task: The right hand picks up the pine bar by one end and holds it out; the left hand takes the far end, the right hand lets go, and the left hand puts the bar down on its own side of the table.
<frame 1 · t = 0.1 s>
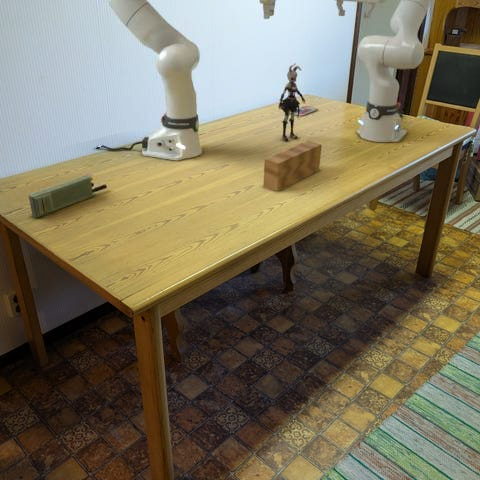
left hand: (268, 17, 163), 48 cm above the table, tool pointing down, fingers open, 8 cm apart
right hand: (354, 17, 166), 48 cm above the table, tool pointing down, fingers open, 8 cm apart
figurine: (288, 138, 207), on the table
bar: (292, 178, 170), on the table
handheld radio: (72, 203, 151), on the table
smartphone: (303, 112, 242), on the table
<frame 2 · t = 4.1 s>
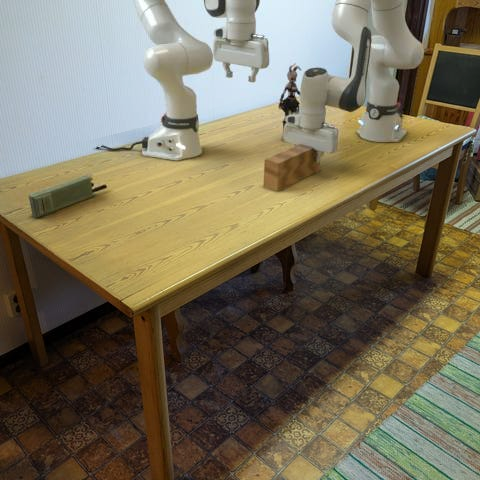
left hand: (240, 79, 159), 31 cm above the table, tool pointing down, fingers open, 8 cm apart
right hand: (308, 159, 174), 4 cm above the table, tool pointing down, fingers closed on bar, 5 cm apart
bar: (292, 178, 170), on the table, touching right hand
everything else where it was.
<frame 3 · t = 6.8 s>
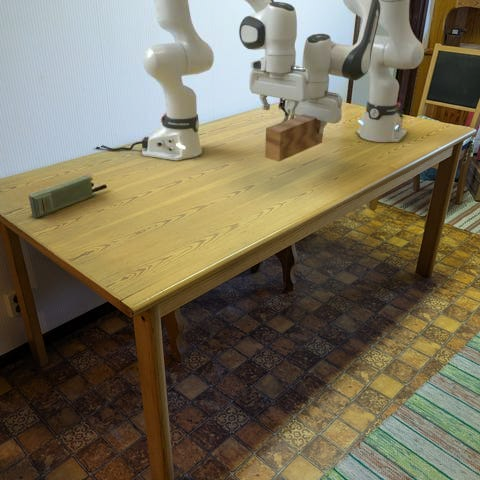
left hand: (278, 112, 153), 24 cm above the table, tool pointing down, fingers open, 8 cm apart
right hand: (311, 131, 169), 14 cm above the table, tool pointing down, fingers closed on bar, 5 cm apart
bar: (294, 149, 165), point 10 cm above the table, touching right hand
everything else where it was.
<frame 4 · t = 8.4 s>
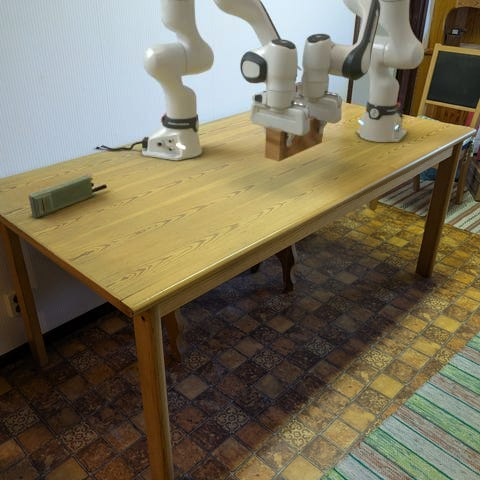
left hand: (278, 143, 157), 14 cm above the table, tool pointing down, fingers closed on bar, 5 cm apart
right hand: (311, 131, 169), 14 cm above the table, tool pointing down, fingers closed on bar, 5 cm apart
bar: (294, 149, 165), point 10 cm above the table, touching left hand, right hand
everything else where it was.
when the right hand's fingers open (14 cm above the table, at t = 9.5 s): bar stays where it is, held by the left hand.
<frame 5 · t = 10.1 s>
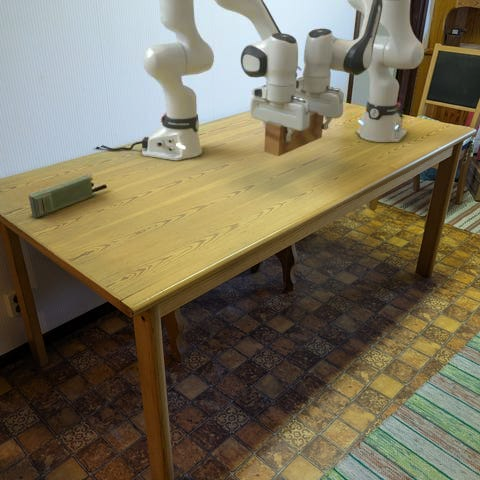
left hand: (277, 138, 157), 16 cm above the table, tool pointing down, fingers closed on bar, 5 cm apart
right hand: (312, 126, 169), 16 cm above the table, tool pointing down, fingers open, 8 cm apart
bar: (294, 144, 165), point 12 cm above the table, touching left hand
everything else where it was.
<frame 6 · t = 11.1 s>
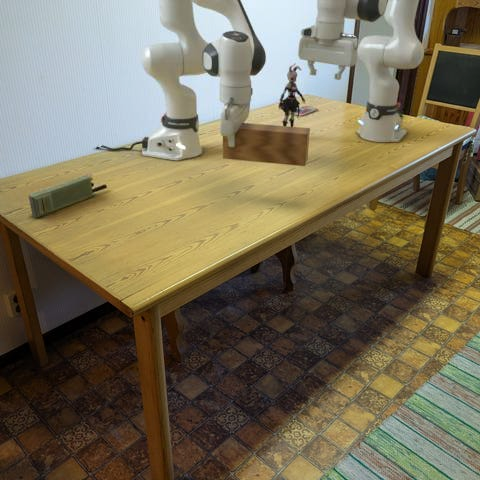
left hand: (235, 142, 149), 17 cm above the table, tool pointing down, fingers closed on bar, 5 cm apart
right hand: (325, 77, 165), 31 cm above the table, tool pointing down, fingers open, 8 cm apart
bar: (265, 159, 149), point 13 cm above the table, touching left hand
everything else where it was.
when the left hand's fingers open (5 cm above the table, at t = 13.9 s): bar stays where it is, on the table.
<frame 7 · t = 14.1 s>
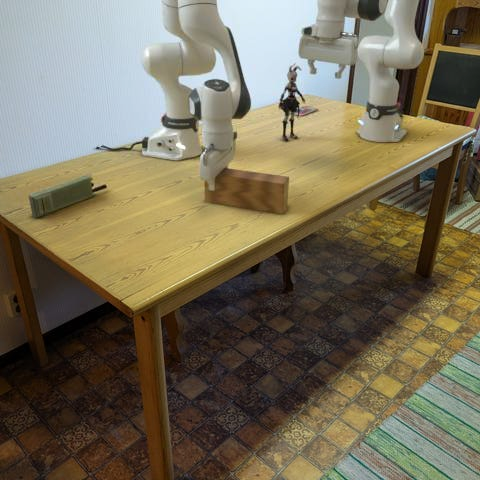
left hand: (218, 183, 152), 5 cm above the table, tool pointing down, fingers open, 7 cm apart
right hand: (325, 76, 165), 31 cm above the table, tool pointing down, fingers open, 8 cm apart
bar: (245, 204, 152), on the table
everything else where it was.
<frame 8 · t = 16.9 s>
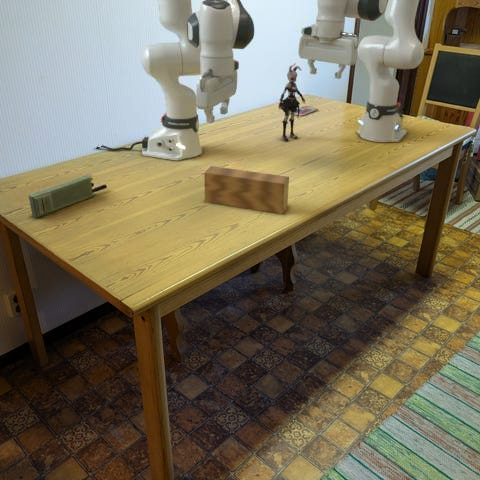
left hand: (217, 118, 142), 25 cm above the table, tool pointing down, fingers open, 8 cm apart
right hand: (325, 76, 165), 31 cm above the table, tool pointing down, fingers open, 8 cm apart
nothing on the table moved.
at the end: bar inside the target area (8.9 cm from its centre), on the table; the left hand is holding nothing; the right hand is holding nothing; bar at rest at the end (0.0 cm/s) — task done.
